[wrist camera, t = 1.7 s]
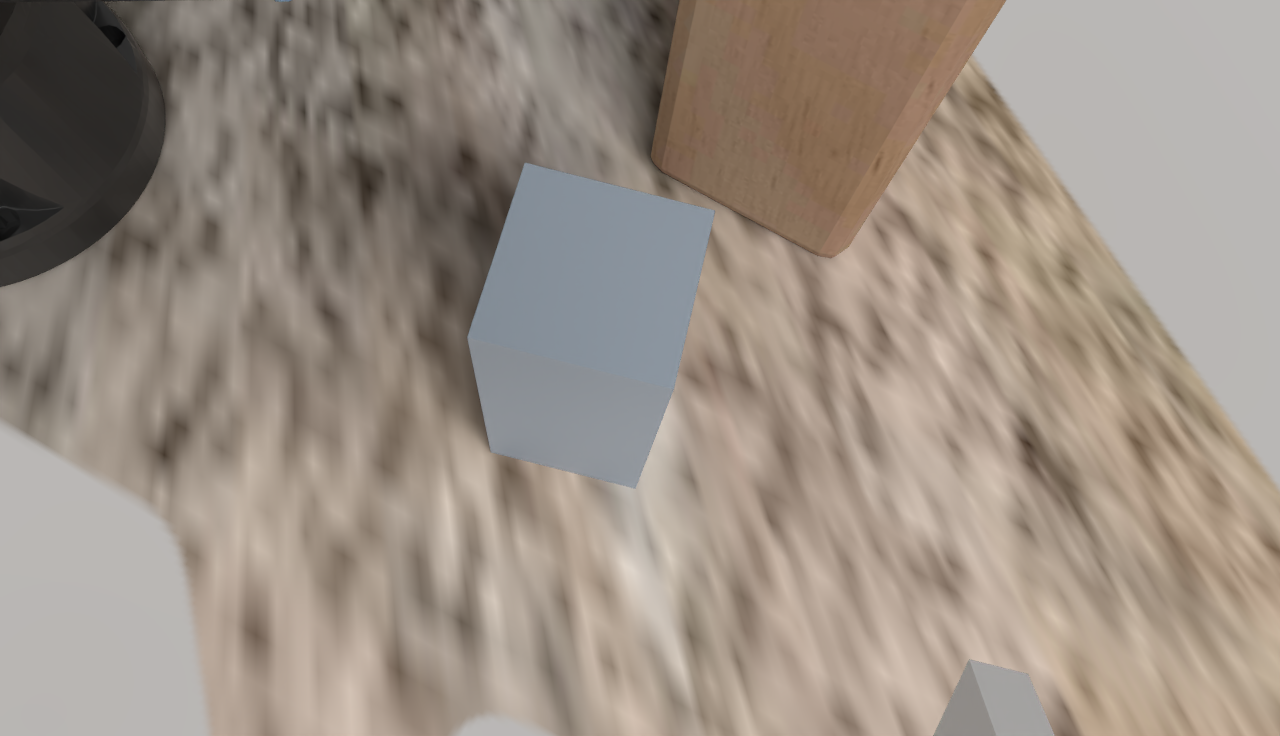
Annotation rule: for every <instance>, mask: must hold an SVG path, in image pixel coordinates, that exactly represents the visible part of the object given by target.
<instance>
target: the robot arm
mask: <svg viewBox="0 0 1280 736" xmlns="http://www.w3.org/2000/svg"><path fill="white" fill-rule="evenodd" d="M103 1H163V0H0V287H2V286H6V285H10V284H13V283H16V282H20V281H23V280H26V279H28V278H31V277H34V276H36V275H39V274H41V273H43V272H46V271H48V270H50V269H52V268H54V267H56V266H58V265H60V264H62V263H64V262H66V261H68V260H69V259H71V258H73V257H74V256H76V255H78V254H79V253H81V252H82V251H84V250H85V249H87V248H88V247H90V246H91V245H92V244H94V243H95V242H96V241H98V240H99V239H100V238H101V237H103V236H104V235H105V234H106V233H107V232H108V231H110V230H111V229H112V228H113V227H114V226H115V225H116V224H117V223H118V222H119V221H120V220H121V219H122V218H123V217H124V215H125V214H126V213H127V212H128V211H129V210H130V208H131V207H132V206H133V205H134V203H135V202H136V201H137V199H138V198H139V196H140V195H141V193H142V192H143V190H144V189H145V187H146V185H147V183H148V182H149V180H150V178H151V176H152V174H153V171H154V169H155V167H156V164H157V162H158V159H159V156H160V152H161V148H162V144H163V139H164V131H165V108H164V101H163V96H162V91H161V88H160V85H159V82H158V80H157V77H156V75H155V73H154V71H153V69H152V67H151V65H150V63H149V62H148V60H147V58H146V57H145V55H144V54H143V52H142V50H141V49H140V47H139V45H138V44H137V42H136V40H135V39H134V37H133V36H132V34H131V33H130V31H129V30H128V28H127V27H126V26H125V24H124V23H123V22H122V21H121V19H120V18H119V17H118V16H117V15H116V14H115V13H114V12H113V11H112V10H111V9H110V8H109V7H108V6H107V5H106V4H105V3H104V2H103ZM275 1H276V2H284V1H291V0H275ZM933 736H1055V735H1054V733H1053V730H1052V728H1051V726H1050V724H1049V721H1048V719H1047V717H1046V714H1045V712H1044V710H1043V707H1042V705H1041V703H1040V700H1039V698H1038V696H1037V694H1036V691H1035V689H1034V687H1033V684H1032V682H1031V680H1030V677H1029V675H1028V674H1026V673H1022V672H1018V671H1014V670H1010V669H1006V668H1002V667H998V666H994V665H990V664H986V663H982V662H978V661H974V660H970V659H969V661H968V663H967V665H966V667H965V669H964V671H963V674H962V676H961V678H960V680H959V682H958V684H957V686H956V688H955V691H954V693H953V695H952V697H951V699H950V701H949V703H948V706H947V708H946V710H945V712H944V714H943V716H942V718H941V721H940V723H939V725H938V727H937V729H936V731H935V733H934V735H933Z"/></svg>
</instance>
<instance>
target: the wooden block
mask: <svg viewBox="0 0 1280 736" xmlns="http://www.w3.org/2000/svg"><path fill="white" fill-rule="evenodd" d="M1005 1H1006V0H679V4H678V10H677V15H676V20H675V26H674V31H673V36H672V42H671V47H670V53H669V58H668V63H667V69H666V74H665V80H664V85H663V90H662V96H661V101H660V106H659V112H658V117H657V123H656V128H655V133H654V139H653V145H652V152H651V158H652V160H653V163H654V164H655V165H656V166H657V167H658V168H659V169H660V170H661V171H662V172H663V173H665V174H667V175H669V176H670V177H672V178H674V179H676V180H678V181H680V182H682V183H683V184H685V185H687V186H689V187H691V188H693V189H695V190H697V191H698V192H700V193H702V194H704V195H706V196H708V197H710V198H711V199H713V200H715V201H717V202H719V203H721V204H723V205H724V206H726V207H728V208H730V209H732V210H734V211H736V212H737V213H739V214H741V215H743V216H745V217H747V218H749V219H750V220H752V221H754V222H756V223H758V224H760V225H762V226H763V227H765V228H767V229H769V230H771V231H773V232H775V233H776V234H778V235H780V236H782V237H784V238H786V239H788V240H789V241H791V242H793V243H795V244H797V245H799V246H801V247H802V248H804V249H806V250H808V251H810V252H812V253H814V254H816V255H817V256H822V257H828V258H832V257H834V256H836V255H838V254H839V253H841V252H842V251H843V250H845V249H846V248H848V247H849V245H850V244H851V242H852V241H853V239H854V237H855V236H856V234H857V233H858V231H859V230H860V228H861V226H862V225H863V223H864V222H865V220H866V219H867V217H868V216H869V214H870V212H871V211H872V209H873V208H874V206H875V205H876V203H877V201H878V200H879V198H880V197H881V195H882V194H883V192H884V191H885V189H886V187H887V186H888V184H889V183H890V181H891V180H892V178H893V176H894V175H895V173H896V172H897V170H898V169H899V167H900V166H901V164H902V162H903V161H904V159H905V158H906V156H907V155H908V153H909V151H910V150H911V148H912V147H913V145H914V144H915V142H916V141H917V139H918V137H919V136H920V134H921V133H922V131H923V130H924V128H925V127H926V125H927V123H928V122H929V120H930V119H931V117H932V116H933V114H934V112H935V111H936V109H937V108H938V106H939V105H940V103H941V102H942V100H943V98H944V97H945V95H946V94H947V92H948V91H949V89H950V87H951V86H952V84H953V83H954V81H955V80H956V78H957V77H958V75H959V73H960V72H961V70H962V69H963V67H964V66H965V64H966V62H967V61H968V59H969V58H970V56H971V55H972V53H973V52H974V50H975V48H976V47H977V45H978V44H979V42H980V41H981V39H982V37H983V36H984V34H985V33H986V31H987V30H988V28H989V27H990V25H991V23H992V22H993V20H994V19H995V17H996V16H997V14H998V12H999V11H1000V9H1001V8H1002V6H1003V5H1004V3H1005Z"/></svg>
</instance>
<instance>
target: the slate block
mask: <svg viewBox="0 0 1280 736" xmlns="http://www.w3.org/2000/svg"><path fill="white" fill-rule="evenodd" d="M714 214H715V211H714V210H711V209H707V208H703V207H699V206H695V205H691V204H687V203H683V202H679V201H675V200H671V199H667V198H663V197H659V196H655V195H651V194H647V193H643V192H639V191H635V190H631V189H627V188H624V187H620V186H616V185H612V184H608V183H604V182H600V181H596V180H592V179H588V178H584V177H580V176H576V175H572V174H568V173H564V172H560V171H556V170H552V169H548V168H544V167H541V166H537V165H533V164H529V163H525V164H524V167H523V170H522V173H521V176H520V179H519V182H518V185H517V188H516V191H515V194H514V197H513V200H512V203H511V206H510V209H509V212H508V215H507V218H506V221H505V224H504V227H503V230H502V234H501V237H500V240H499V243H498V246H497V249H496V252H495V255H494V258H493V261H492V264H491V267H490V270H489V273H488V276H487V279H486V282H485V285H484V288H483V291H482V294H481V297H480V300H479V303H478V306H477V309H476V312H475V315H474V318H473V321H472V324H471V327H470V330H469V333H468V336H467V339H468V344H469V348H470V353H471V358H472V363H473V368H474V373H475V377H476V382H477V387H478V392H479V397H480V402H481V407H482V411H483V416H484V421H485V426H486V431H487V436H488V440H489V445H490V450H491V452H492V453H496V454H500V455H504V456H508V457H512V458H516V459H520V460H524V461H528V462H532V463H536V464H540V465H544V466H548V467H552V468H556V469H560V470H564V471H568V472H572V473H576V474H580V475H584V476H588V477H592V478H596V479H600V480H603V481H607V482H611V483H615V484H619V485H623V486H627V487H631V488H636V486H637V483H638V481H639V478H640V475H641V473H642V470H643V468H644V465H645V462H646V460H647V457H648V455H649V452H650V449H651V447H652V444H653V442H654V439H655V436H656V434H657V431H658V429H659V426H660V423H661V421H662V418H663V416H664V413H665V410H666V408H667V405H668V403H669V400H670V398H671V395H672V392H673V390H674V386H675V381H676V377H677V373H678V368H679V364H680V360H681V356H682V351H683V347H684V343H685V338H686V334H687V330H688V326H689V321H690V317H691V313H692V308H693V304H694V300H695V295H696V291H697V287H698V283H699V278H700V274H701V270H702V265H703V261H704V257H705V252H706V248H707V244H708V240H709V235H710V231H711V227H712V222H713V218H714Z"/></svg>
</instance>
